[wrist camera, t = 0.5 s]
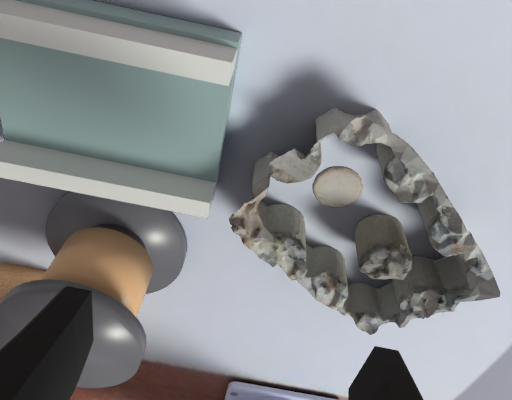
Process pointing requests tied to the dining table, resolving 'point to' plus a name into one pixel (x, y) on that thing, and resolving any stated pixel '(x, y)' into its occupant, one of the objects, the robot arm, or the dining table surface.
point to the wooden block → (16, 277)
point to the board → (114, 102)
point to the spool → (103, 277)
